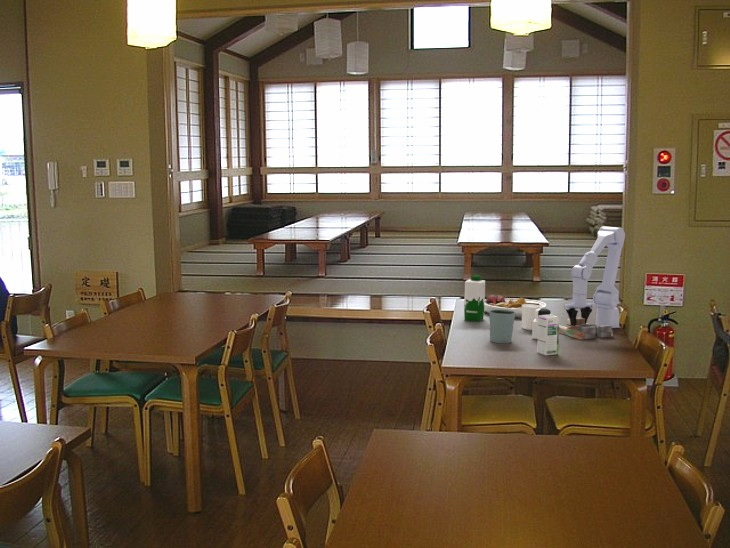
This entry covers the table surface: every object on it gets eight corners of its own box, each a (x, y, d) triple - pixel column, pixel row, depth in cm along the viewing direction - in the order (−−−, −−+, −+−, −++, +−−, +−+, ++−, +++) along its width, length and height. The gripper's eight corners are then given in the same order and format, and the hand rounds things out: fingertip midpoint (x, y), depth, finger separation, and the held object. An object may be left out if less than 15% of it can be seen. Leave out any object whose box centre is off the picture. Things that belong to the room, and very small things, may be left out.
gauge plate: (594, 332, 343) (594, 323, 342) (604, 335, 337) (605, 326, 336) (566, 335, 337) (566, 325, 336) (576, 338, 331) (576, 328, 330)
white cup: (539, 330, 346) (540, 307, 345) (520, 329, 348) (521, 306, 347) (539, 327, 354) (540, 304, 353) (520, 326, 356) (521, 303, 354)
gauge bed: (569, 323, 362) (570, 313, 361) (613, 336, 336) (613, 325, 336) (538, 326, 355) (539, 316, 355) (580, 339, 329) (581, 328, 329)
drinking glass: (483, 339, 328) (484, 310, 326) (504, 337, 332) (506, 308, 330) (497, 344, 318) (498, 314, 317) (519, 342, 322) (520, 312, 321)
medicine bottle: (551, 336, 334) (552, 308, 332) (549, 340, 327) (550, 311, 326) (534, 335, 336) (535, 307, 335) (531, 338, 330) (533, 309, 328)
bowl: (554, 312, 392) (555, 296, 391) (532, 321, 367) (533, 304, 366) (497, 305, 408) (497, 290, 407) (472, 314, 383) (472, 298, 382)
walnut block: (578, 330, 348) (579, 316, 347) (584, 332, 344) (585, 318, 343) (570, 331, 346) (571, 317, 345) (576, 333, 342) (577, 319, 342)
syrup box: (545, 355, 300) (547, 317, 298) (536, 352, 306) (538, 314, 304) (558, 354, 302) (560, 316, 301) (548, 351, 308) (550, 313, 306)
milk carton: (485, 319, 371) (487, 275, 368) (480, 322, 363) (482, 278, 360) (467, 317, 374) (468, 274, 372) (461, 320, 366) (463, 277, 363)
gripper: (587, 291, 349) (585, 322, 351) (560, 293, 343) (558, 324, 345) (598, 293, 343) (596, 325, 345) (570, 295, 337) (569, 327, 339)
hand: (578, 325), depth 344 cm, fingers open, 5 cm apart
